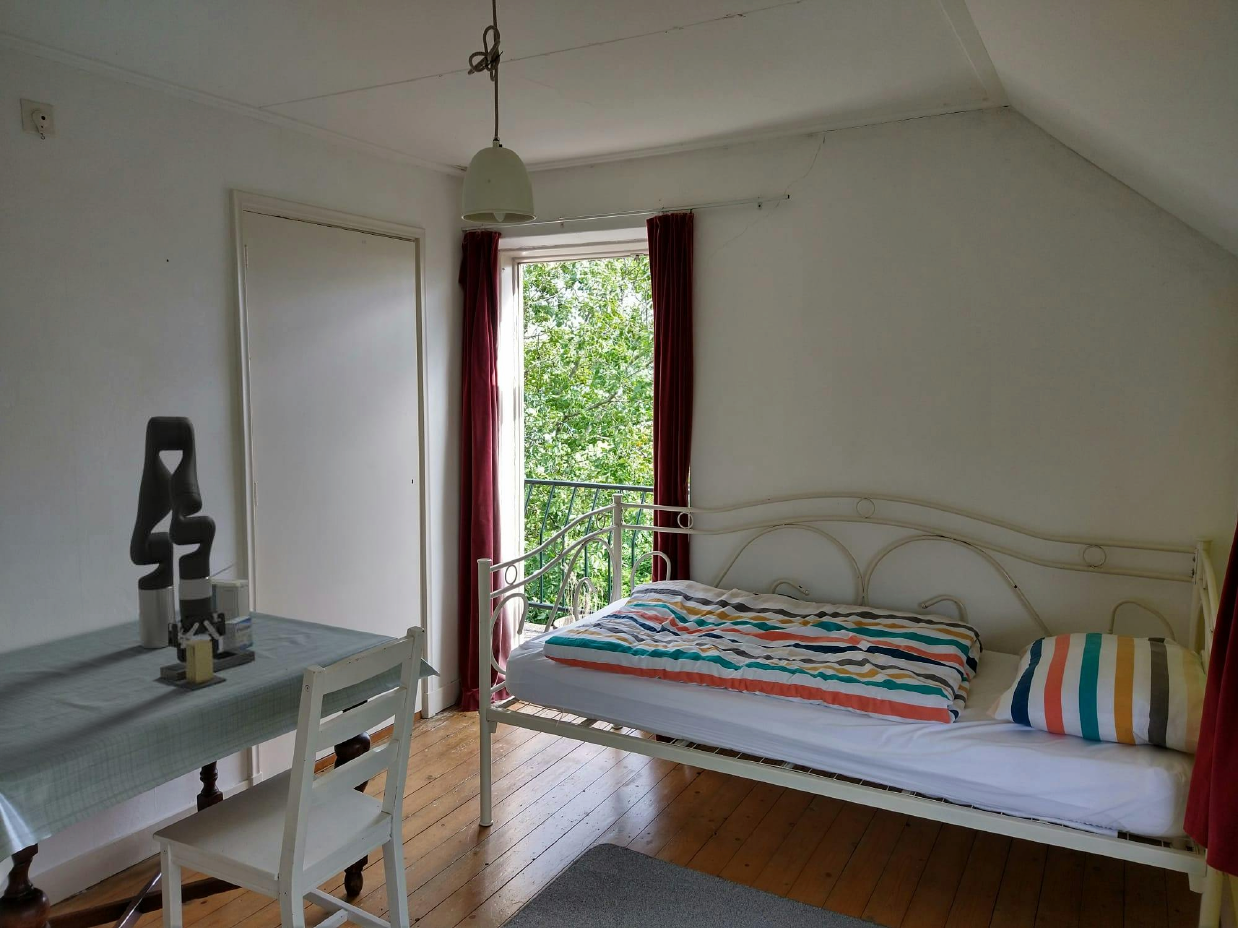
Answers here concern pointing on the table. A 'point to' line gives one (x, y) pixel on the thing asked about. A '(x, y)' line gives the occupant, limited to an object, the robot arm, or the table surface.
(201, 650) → the brass block
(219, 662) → the rail
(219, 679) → the rubber mat
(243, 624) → the medicine box
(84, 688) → the table surface
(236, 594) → the stereo radio cassette player
